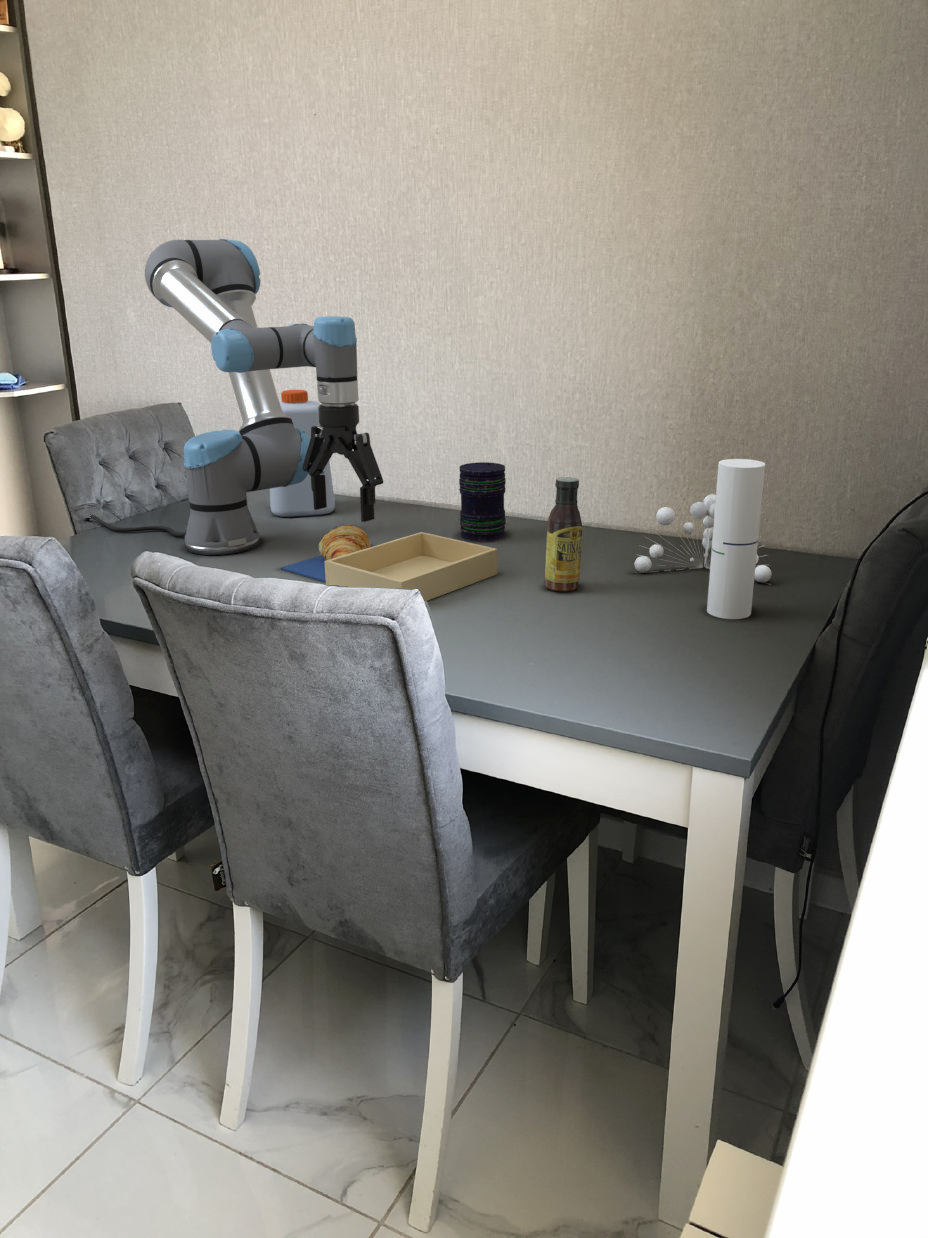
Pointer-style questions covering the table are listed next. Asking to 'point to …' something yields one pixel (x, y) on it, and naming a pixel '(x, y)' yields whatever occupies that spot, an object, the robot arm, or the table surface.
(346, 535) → the croissant
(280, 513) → the plastic bottle
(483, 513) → the storage jar
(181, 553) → the table surface
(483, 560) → the wooden tray
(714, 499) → the decorative flower
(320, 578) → the cloth mat
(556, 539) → the sauce bottle
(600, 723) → the table surface
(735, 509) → the cylindrical container
